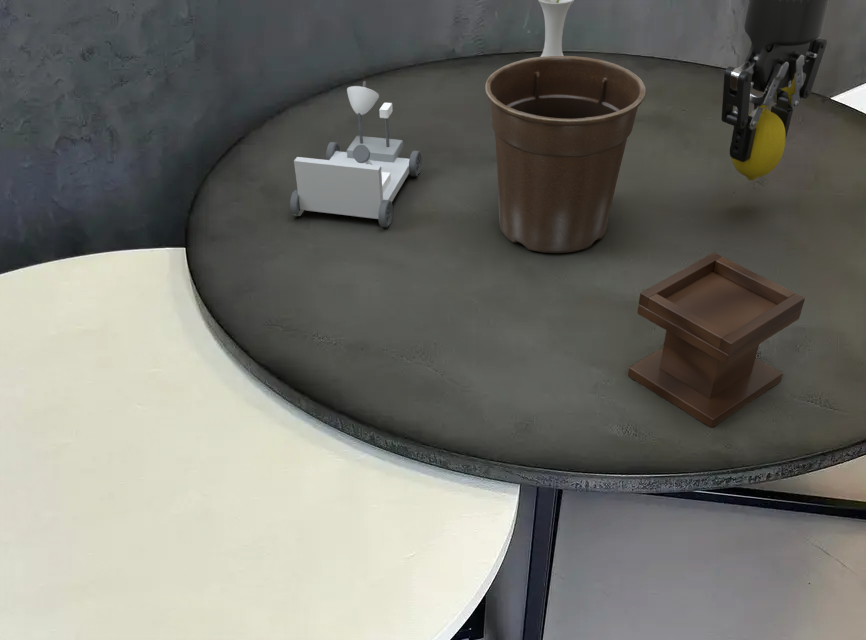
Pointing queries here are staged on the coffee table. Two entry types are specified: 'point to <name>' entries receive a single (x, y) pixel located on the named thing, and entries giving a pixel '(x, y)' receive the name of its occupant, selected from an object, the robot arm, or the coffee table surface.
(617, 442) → the coffee table surface
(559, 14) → the flower in vase
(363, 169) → the grey toy rover
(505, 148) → the plant pot
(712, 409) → the stand
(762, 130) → the lemon
